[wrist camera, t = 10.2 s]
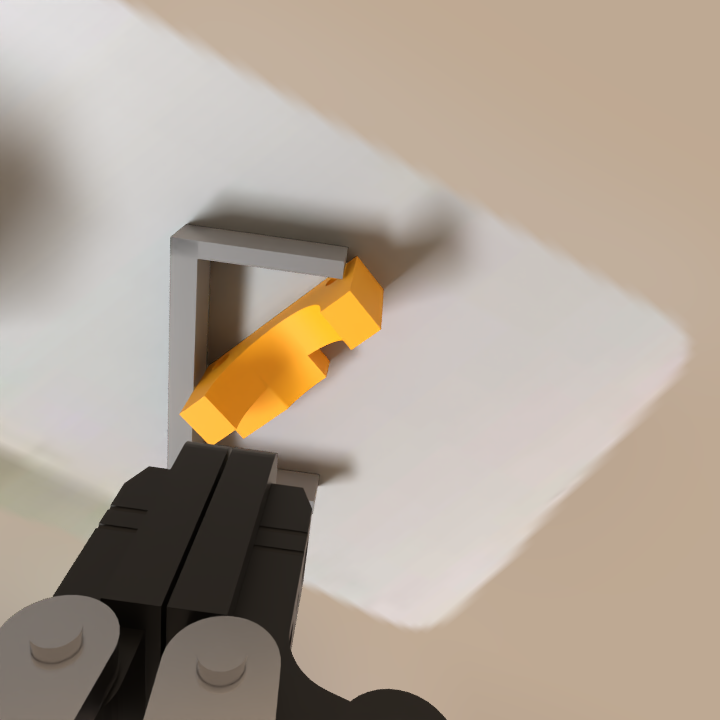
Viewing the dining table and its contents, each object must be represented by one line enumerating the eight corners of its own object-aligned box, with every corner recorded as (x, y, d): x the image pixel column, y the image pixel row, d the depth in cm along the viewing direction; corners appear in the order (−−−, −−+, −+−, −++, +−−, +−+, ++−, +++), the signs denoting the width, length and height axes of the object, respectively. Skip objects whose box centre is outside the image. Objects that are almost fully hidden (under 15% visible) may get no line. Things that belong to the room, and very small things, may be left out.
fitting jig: (180, 467, 46) (167, 493, 43) (186, 224, 39) (170, 236, 36) (317, 486, 46) (312, 514, 43) (348, 247, 39) (344, 261, 36)
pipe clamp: (253, 413, 44) (231, 468, 38) (209, 365, 43) (179, 414, 37) (401, 311, 41) (401, 354, 35) (357, 255, 39) (350, 290, 34)
